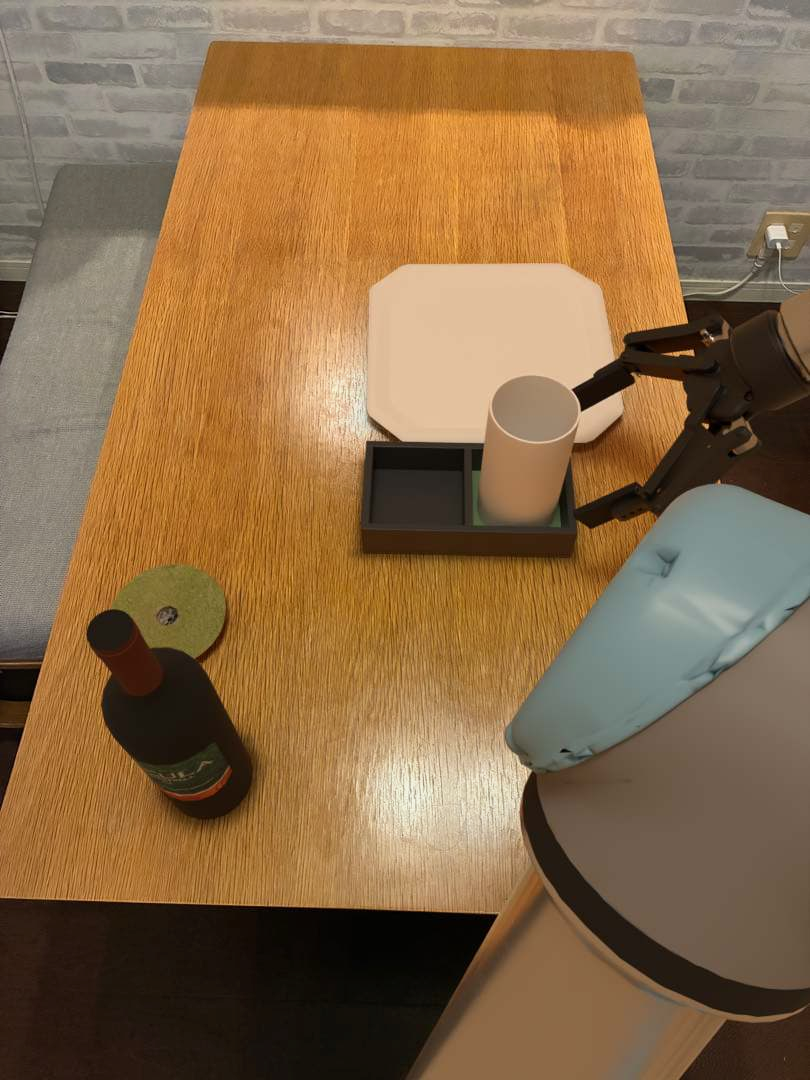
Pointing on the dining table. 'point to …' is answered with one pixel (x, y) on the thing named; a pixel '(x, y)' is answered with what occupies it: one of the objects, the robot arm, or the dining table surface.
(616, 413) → the plate
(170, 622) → the mat
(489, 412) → the cup
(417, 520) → the holder
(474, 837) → the dining table surface
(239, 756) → the wine bottle
